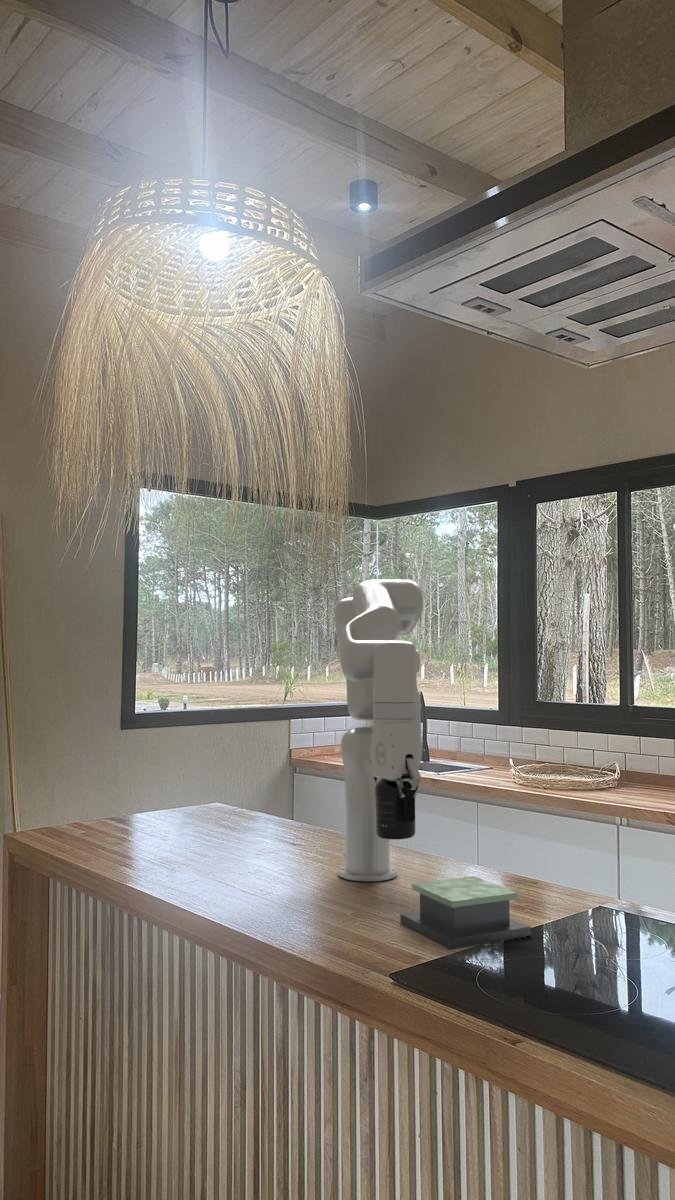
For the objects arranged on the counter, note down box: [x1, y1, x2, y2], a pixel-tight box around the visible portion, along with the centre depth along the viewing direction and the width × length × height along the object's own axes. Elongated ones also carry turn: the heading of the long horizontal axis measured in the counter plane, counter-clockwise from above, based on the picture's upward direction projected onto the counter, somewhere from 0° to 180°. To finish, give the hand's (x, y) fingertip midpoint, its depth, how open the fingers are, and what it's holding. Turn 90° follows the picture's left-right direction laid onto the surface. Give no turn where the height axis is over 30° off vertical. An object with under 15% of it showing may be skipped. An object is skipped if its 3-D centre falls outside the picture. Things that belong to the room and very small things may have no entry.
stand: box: [400, 875, 532, 950], centre depth 155 cm, size 16×16×7 cm
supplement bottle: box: [375, 776, 416, 840], centre depth 154 cm, size 7×7×12 cm
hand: (395, 816), depth 154 cm, fingers closed on supplement bottle, 6 cm apart
